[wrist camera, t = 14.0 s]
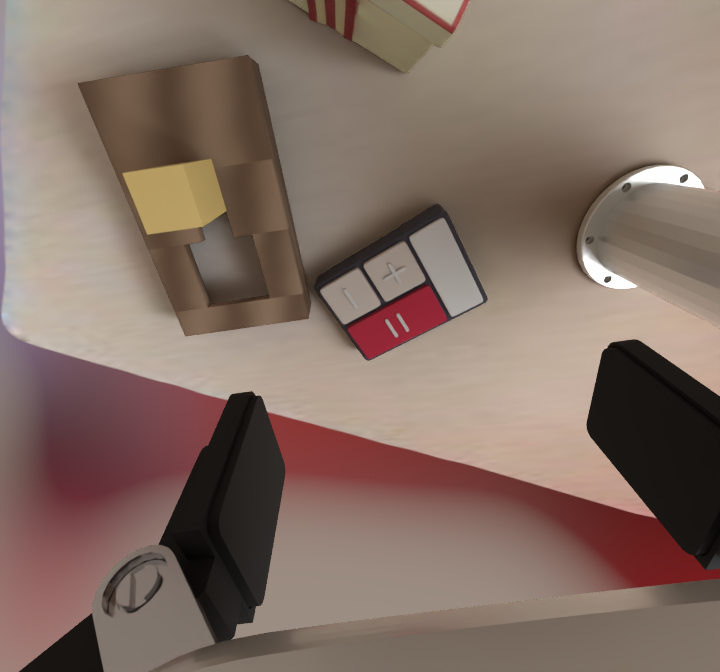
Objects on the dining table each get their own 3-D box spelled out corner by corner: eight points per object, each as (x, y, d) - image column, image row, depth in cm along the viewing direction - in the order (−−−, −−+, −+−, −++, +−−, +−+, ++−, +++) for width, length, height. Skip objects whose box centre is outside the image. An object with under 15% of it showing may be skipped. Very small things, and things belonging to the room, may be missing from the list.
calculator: (311, 290, 37) (447, 210, 33) (316, 274, 41) (438, 201, 37) (367, 366, 42) (491, 304, 38) (366, 346, 45) (479, 288, 41)
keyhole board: (258, 64, 30) (247, 55, 27) (311, 303, 41) (308, 318, 38) (107, 88, 31) (77, 83, 27) (198, 319, 42) (185, 336, 38)
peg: (233, 148, 33) (187, 154, 23) (248, 205, 36) (212, 232, 26) (179, 156, 34) (111, 165, 23) (198, 212, 36) (143, 242, 26)
